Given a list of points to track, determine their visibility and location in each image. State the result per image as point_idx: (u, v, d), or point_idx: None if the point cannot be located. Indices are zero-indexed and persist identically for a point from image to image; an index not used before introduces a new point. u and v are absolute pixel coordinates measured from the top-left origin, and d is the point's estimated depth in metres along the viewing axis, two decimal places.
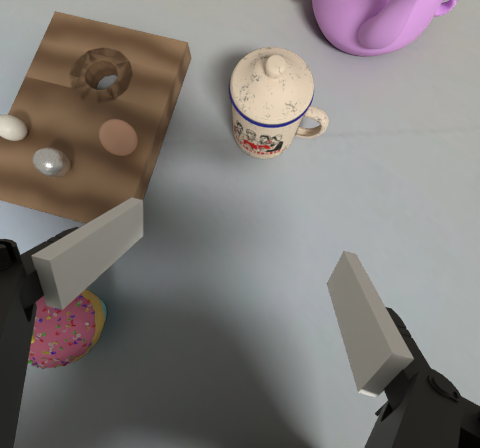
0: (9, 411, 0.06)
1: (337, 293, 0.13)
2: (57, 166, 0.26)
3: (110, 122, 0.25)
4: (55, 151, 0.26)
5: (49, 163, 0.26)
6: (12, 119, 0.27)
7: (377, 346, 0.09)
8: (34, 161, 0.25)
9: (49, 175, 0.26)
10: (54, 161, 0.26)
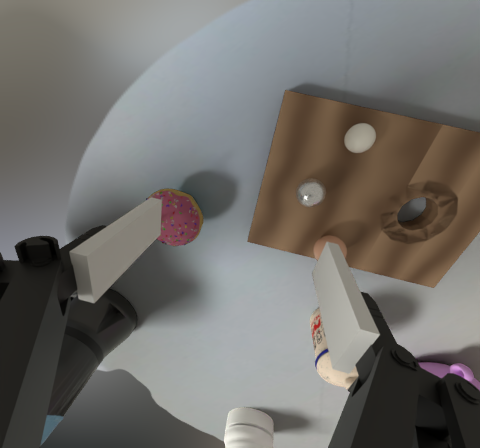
0: (41, 402, 0.06)
1: (320, 281, 0.14)
2: (303, 205, 0.27)
3: None
4: None
5: (305, 203, 0.26)
6: (366, 149, 0.24)
7: (349, 325, 0.09)
8: (308, 190, 0.26)
9: (296, 194, 0.27)
10: (308, 206, 0.27)
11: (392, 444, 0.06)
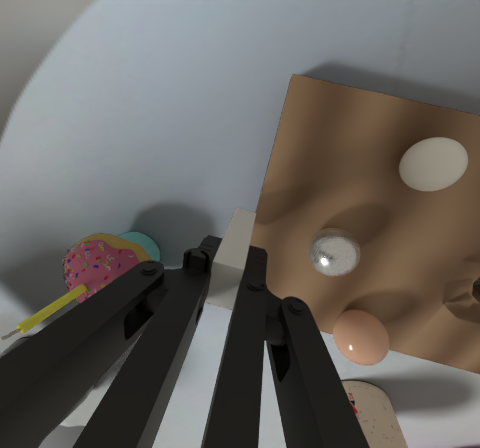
0: (162, 408, 0.07)
1: None
2: (321, 273, 0.16)
3: (379, 359, 0.17)
4: (348, 273, 0.15)
5: (325, 273, 0.15)
6: (446, 186, 0.12)
7: None
8: (331, 254, 0.14)
9: (308, 254, 0.16)
10: None
11: (250, 354, 0.07)
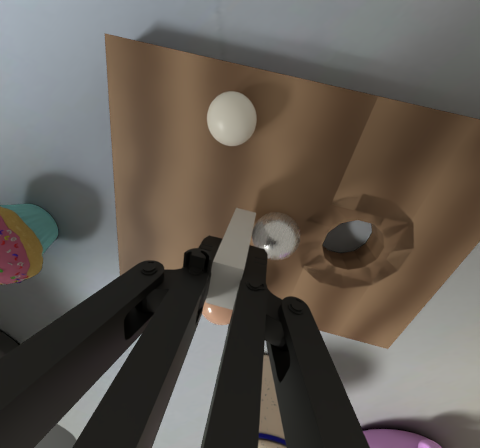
0: (162, 408, 0.07)
1: None
2: None
3: (227, 317, 0.18)
4: None
5: None
6: (239, 139, 0.13)
7: None
8: None
9: None
10: None
11: (250, 354, 0.07)
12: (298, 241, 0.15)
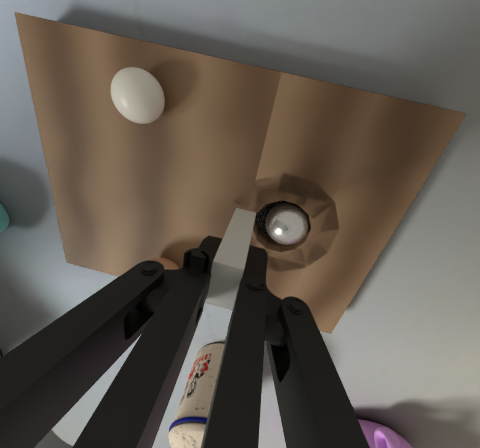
0: (162, 408, 0.07)
1: None
2: None
3: None
4: None
5: None
6: (143, 115, 0.13)
7: None
8: None
9: (306, 233, 0.18)
10: None
11: (250, 354, 0.07)
12: (281, 220, 0.17)
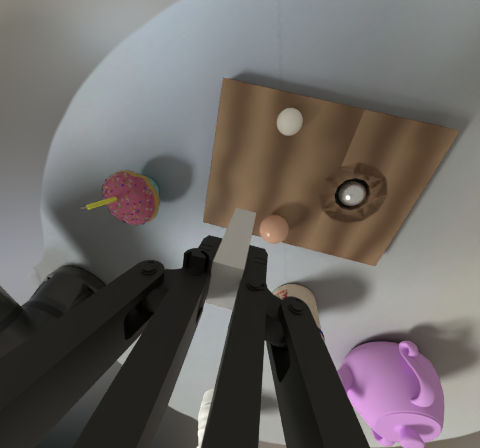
0: (162, 408, 0.07)
1: None
2: None
3: (279, 235, 0.30)
4: None
5: None
6: (294, 131, 0.26)
7: None
8: None
9: (363, 199, 0.31)
10: None
11: (250, 354, 0.07)
12: (349, 190, 0.30)
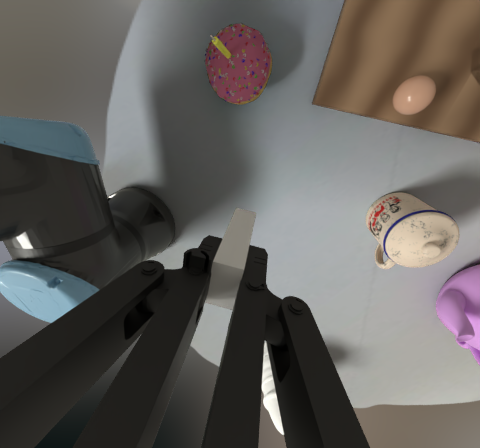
0: (162, 408, 0.07)
1: None
2: None
3: (430, 94, 0.25)
4: None
5: None
6: None
7: None
8: None
9: None
10: None
11: (250, 354, 0.07)
12: None
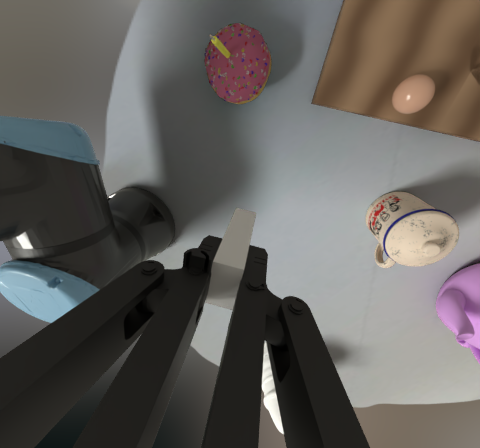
0: (162, 408, 0.07)
1: None
2: None
3: (429, 93, 0.25)
4: None
5: None
6: None
7: None
8: None
9: None
10: None
11: (250, 354, 0.07)
12: None
